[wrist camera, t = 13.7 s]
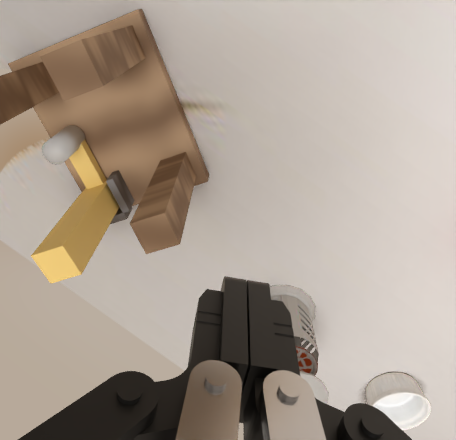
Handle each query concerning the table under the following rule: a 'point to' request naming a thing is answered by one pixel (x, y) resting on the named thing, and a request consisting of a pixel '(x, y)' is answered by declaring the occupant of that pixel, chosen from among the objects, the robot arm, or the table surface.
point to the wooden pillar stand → (117, 120)
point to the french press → (302, 334)
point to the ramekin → (399, 399)
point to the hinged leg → (76, 210)
